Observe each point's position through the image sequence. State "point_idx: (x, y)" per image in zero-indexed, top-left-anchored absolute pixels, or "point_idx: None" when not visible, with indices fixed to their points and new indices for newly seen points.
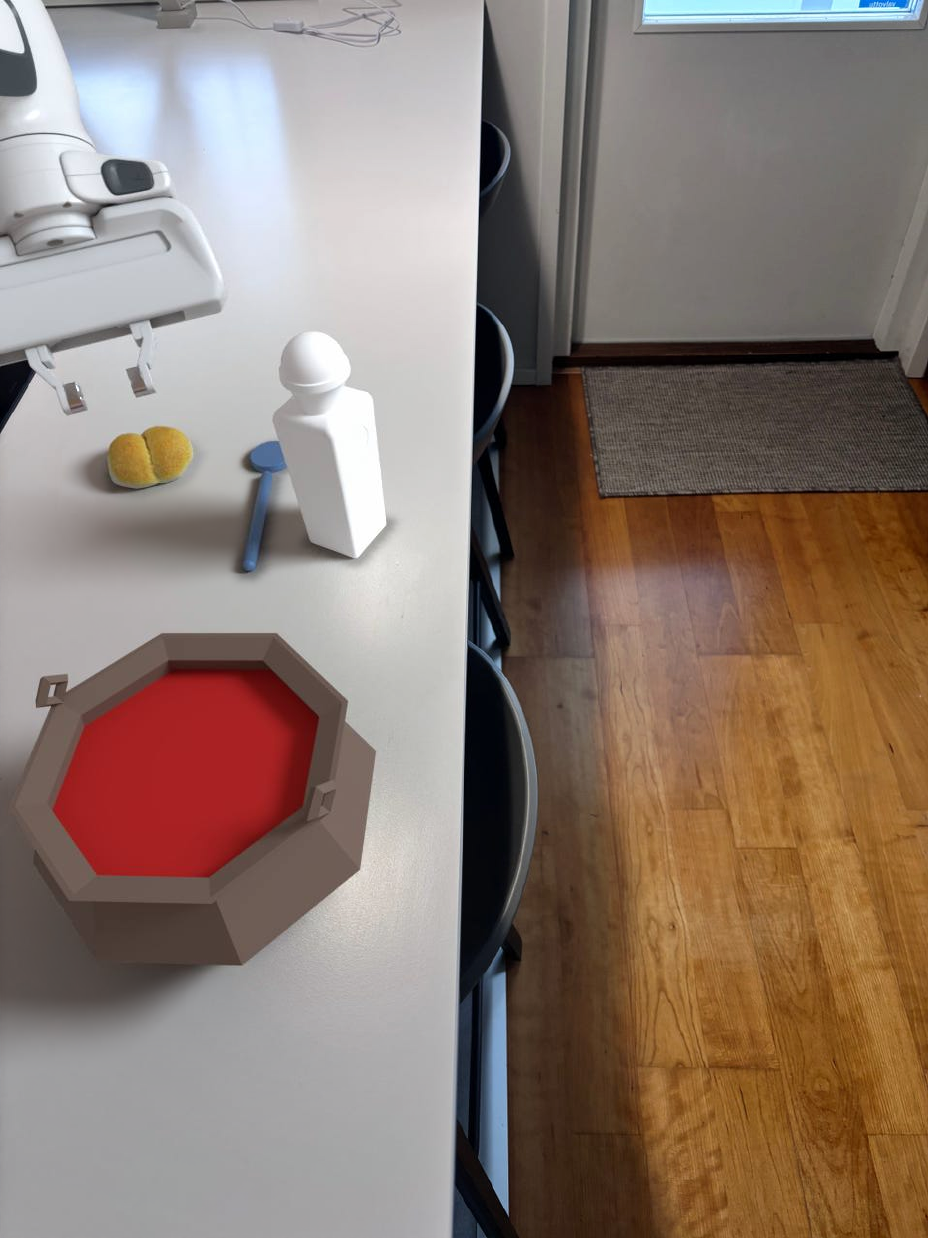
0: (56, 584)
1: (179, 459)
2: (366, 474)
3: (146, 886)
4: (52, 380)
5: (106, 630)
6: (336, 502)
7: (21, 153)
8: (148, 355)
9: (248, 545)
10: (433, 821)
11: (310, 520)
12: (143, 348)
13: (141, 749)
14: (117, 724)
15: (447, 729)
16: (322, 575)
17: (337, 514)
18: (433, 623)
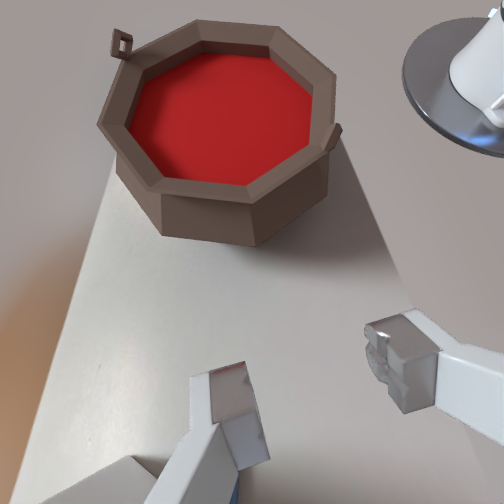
0: (432, 463)
1: None
2: None
3: (236, 34)
4: (478, 352)
5: (360, 386)
6: (100, 481)
7: None
8: (173, 458)
9: (234, 487)
10: (115, 192)
11: None
12: (181, 484)
13: (262, 137)
14: (285, 158)
15: (91, 252)
16: (163, 434)
17: (111, 477)
18: (75, 354)
